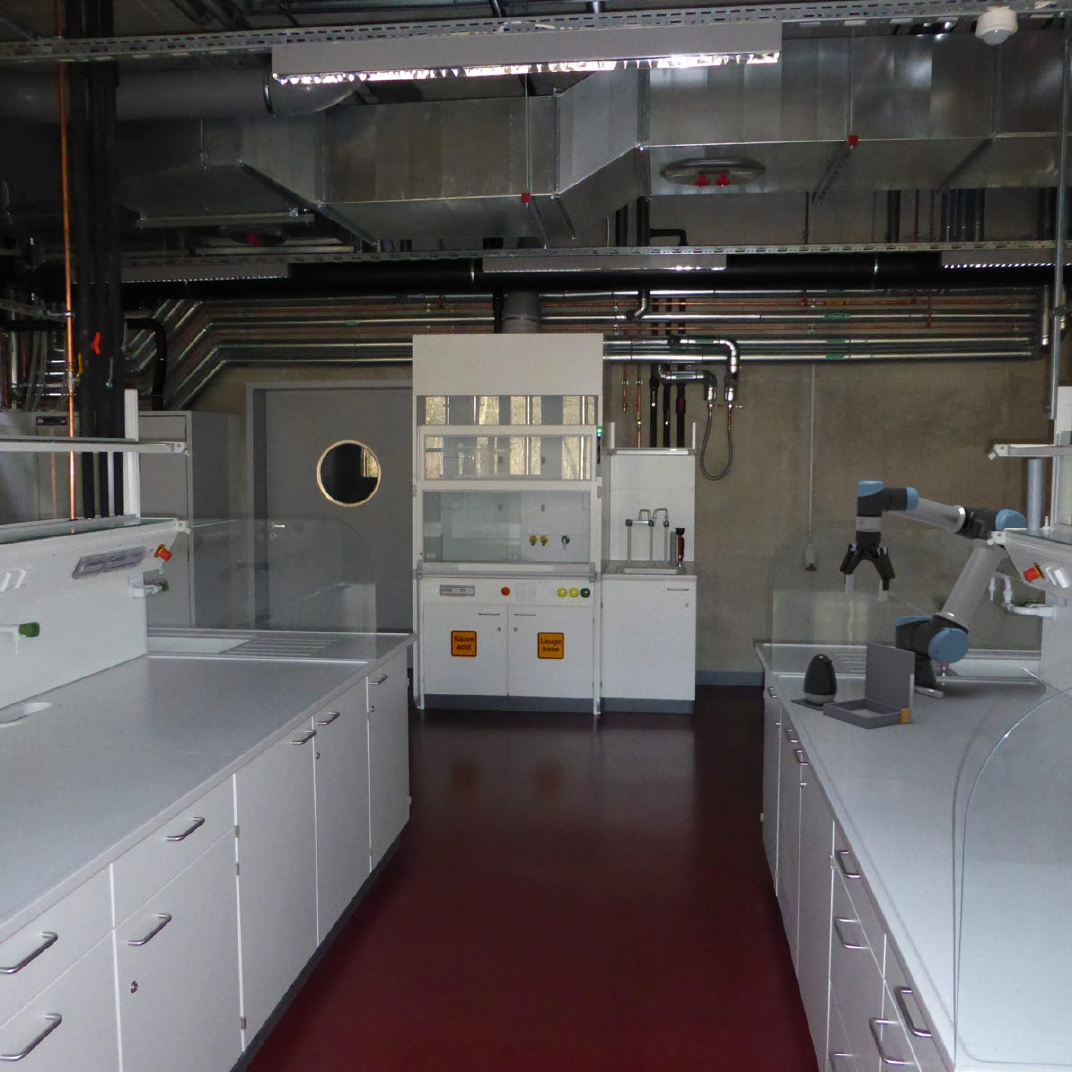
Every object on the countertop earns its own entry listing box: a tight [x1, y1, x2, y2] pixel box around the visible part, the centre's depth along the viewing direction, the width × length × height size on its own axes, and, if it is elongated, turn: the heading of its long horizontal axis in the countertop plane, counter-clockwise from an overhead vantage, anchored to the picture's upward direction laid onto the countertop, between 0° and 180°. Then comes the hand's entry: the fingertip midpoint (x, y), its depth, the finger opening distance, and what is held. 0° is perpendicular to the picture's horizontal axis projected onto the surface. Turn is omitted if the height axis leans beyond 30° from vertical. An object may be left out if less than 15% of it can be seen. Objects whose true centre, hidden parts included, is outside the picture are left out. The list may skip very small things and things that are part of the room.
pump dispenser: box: [802, 653, 838, 705], centre depth 292 cm, size 10×10×15 cm
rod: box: [913, 684, 945, 700], centre depth 307 cm, size 12×2×2 cm
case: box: [822, 641, 915, 730], centre depth 277 cm, size 18×18×20 cm
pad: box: [790, 697, 838, 712], centre depth 293 cm, size 12×12×1 cm
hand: (865, 598), depth 299 cm, fingers open, 13 cm apart
